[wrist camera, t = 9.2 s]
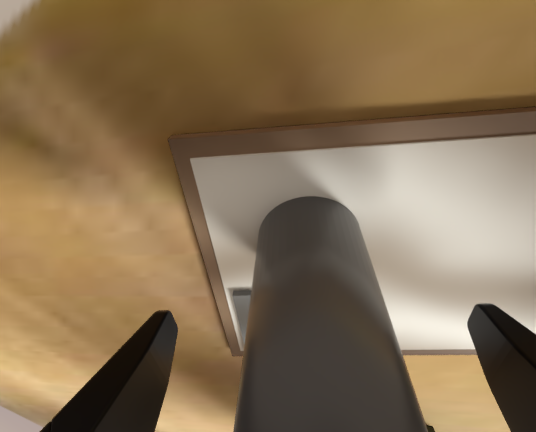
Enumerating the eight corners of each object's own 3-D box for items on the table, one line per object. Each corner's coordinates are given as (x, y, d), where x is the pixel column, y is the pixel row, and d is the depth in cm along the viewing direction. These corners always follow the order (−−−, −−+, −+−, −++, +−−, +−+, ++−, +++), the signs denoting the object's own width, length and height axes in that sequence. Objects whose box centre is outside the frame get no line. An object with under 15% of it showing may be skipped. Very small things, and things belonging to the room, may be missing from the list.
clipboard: (545, 347, 16) (562, 369, 15) (233, 349, 17) (230, 369, 16) (744, 90, 8) (805, 100, 7) (171, 135, 10) (159, 149, 9)
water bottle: (357, 274, 13) (493, 785, 4) (262, 277, 13) (219, 751, 5) (366, 191, 10) (699, 953, 2) (250, 197, 11) (126, 856, 2)
